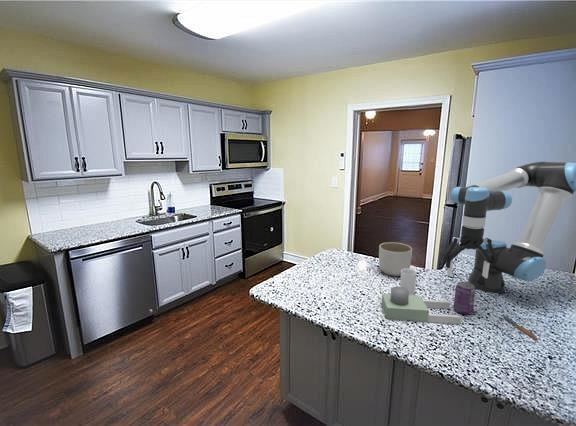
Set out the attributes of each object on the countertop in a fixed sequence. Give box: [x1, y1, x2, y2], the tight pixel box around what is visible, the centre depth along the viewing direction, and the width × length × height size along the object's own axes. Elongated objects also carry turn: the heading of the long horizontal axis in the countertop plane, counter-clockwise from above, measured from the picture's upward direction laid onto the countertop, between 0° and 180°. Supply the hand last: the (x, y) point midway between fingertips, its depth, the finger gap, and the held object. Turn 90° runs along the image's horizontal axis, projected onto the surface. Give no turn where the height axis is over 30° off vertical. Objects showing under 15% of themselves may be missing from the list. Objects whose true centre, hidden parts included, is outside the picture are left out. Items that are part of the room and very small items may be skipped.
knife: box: [502, 314, 539, 342], centre depth 110 cm, size 17×1×3 cm
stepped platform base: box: [381, 285, 462, 325], centre depth 120 cm, size 28×12×10 cm, turn 81°
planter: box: [378, 241, 413, 277], centre depth 159 cm, size 17×17×15 cm
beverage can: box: [453, 281, 476, 315], centre depth 120 cm, size 7×7×12 cm
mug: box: [399, 268, 418, 295], centre depth 136 cm, size 10×7×12 cm, turn 172°
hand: (466, 276), depth 118 cm, fingers open, 13 cm apart
